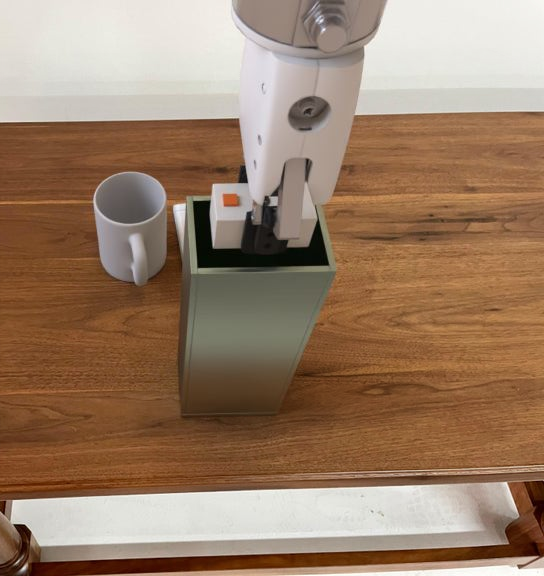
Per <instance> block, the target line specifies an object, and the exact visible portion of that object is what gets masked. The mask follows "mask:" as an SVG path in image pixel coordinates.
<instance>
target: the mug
mask: <svg viewBox="0 0 544 576" xmlns="http://www.w3.org/2000/svg"><path fill="white" fill-rule="evenodd" d="M93 211H94V219H95V226H96V227H95V228H96V233H97V240H98V251H99V258H100V259H99V260H100V263H101V265H102V267H103V269H104V270H105V271H106V273H108V275H110V276H111V277H112V278H115V279H117V280H119V281H123V282H127V283H134V284H135V285H136V286H138V287H144V286H146V285H147V283H148V280H149V279H151V278H152V277H155V276H156V275H158V274H159V272H161V270H162V269H163V267H164V265H165V263H166V261H167V255H168V254H167V249H168V248H167V247H168V246H167V231H168V230H167V229H168V228H167V227H168V226H167V225H168V224H167V223H168V222H167V220H168V213H167V212H168V198H167V192H166V190H165V188H164V186H163V185H162V184H161V182H159V180H157V179H156V178H154V177H153V176H151V175H149V174H147V173H144V172H138V171H123V172H119V173H116V174H113V175H111V176H108V177H107V178H105V179H104V180H103V181H102V182H100V184H99V185H98V186H97V188H96V189H95V192H94V195H93Z"/></svg>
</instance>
